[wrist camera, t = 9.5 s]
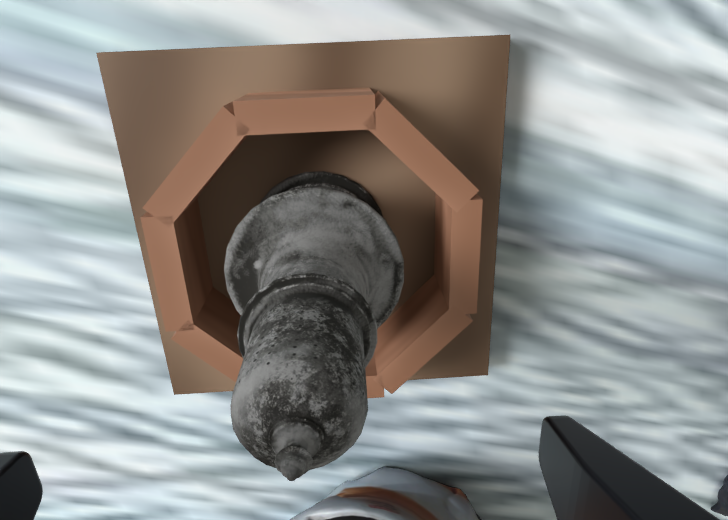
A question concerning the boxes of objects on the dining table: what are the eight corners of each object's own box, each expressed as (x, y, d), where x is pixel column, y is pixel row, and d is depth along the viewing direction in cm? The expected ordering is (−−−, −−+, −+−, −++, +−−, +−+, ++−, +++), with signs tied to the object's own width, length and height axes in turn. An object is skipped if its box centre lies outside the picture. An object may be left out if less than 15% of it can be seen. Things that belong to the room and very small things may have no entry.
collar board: (499, 35, 18) (543, 32, 15) (480, 360, 24) (508, 420, 20) (111, 52, 18) (49, 53, 14) (181, 378, 23) (150, 443, 20)
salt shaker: (424, 245, 20) (525, 487, 9) (313, 329, 21) (283, 631, 10) (326, 129, 18) (302, 258, 7) (211, 229, 19) (41, 469, 8)
